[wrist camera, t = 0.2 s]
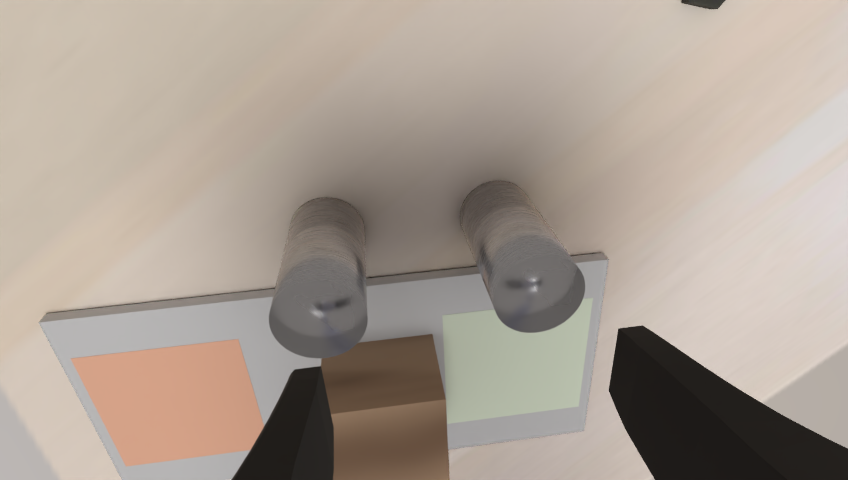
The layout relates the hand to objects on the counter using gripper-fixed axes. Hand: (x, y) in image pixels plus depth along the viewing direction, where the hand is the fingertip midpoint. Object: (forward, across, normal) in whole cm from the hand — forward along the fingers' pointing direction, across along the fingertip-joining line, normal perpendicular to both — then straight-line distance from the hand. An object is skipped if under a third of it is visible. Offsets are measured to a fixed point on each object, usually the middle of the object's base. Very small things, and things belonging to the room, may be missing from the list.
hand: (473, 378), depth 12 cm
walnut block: (+9, +3, +9) cm, 13 cm away
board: (+10, +4, +9) cm, 14 cm away
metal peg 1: (+10, +4, +1) cm, 11 cm away
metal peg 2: (+10, -3, +1) cm, 10 cm away
